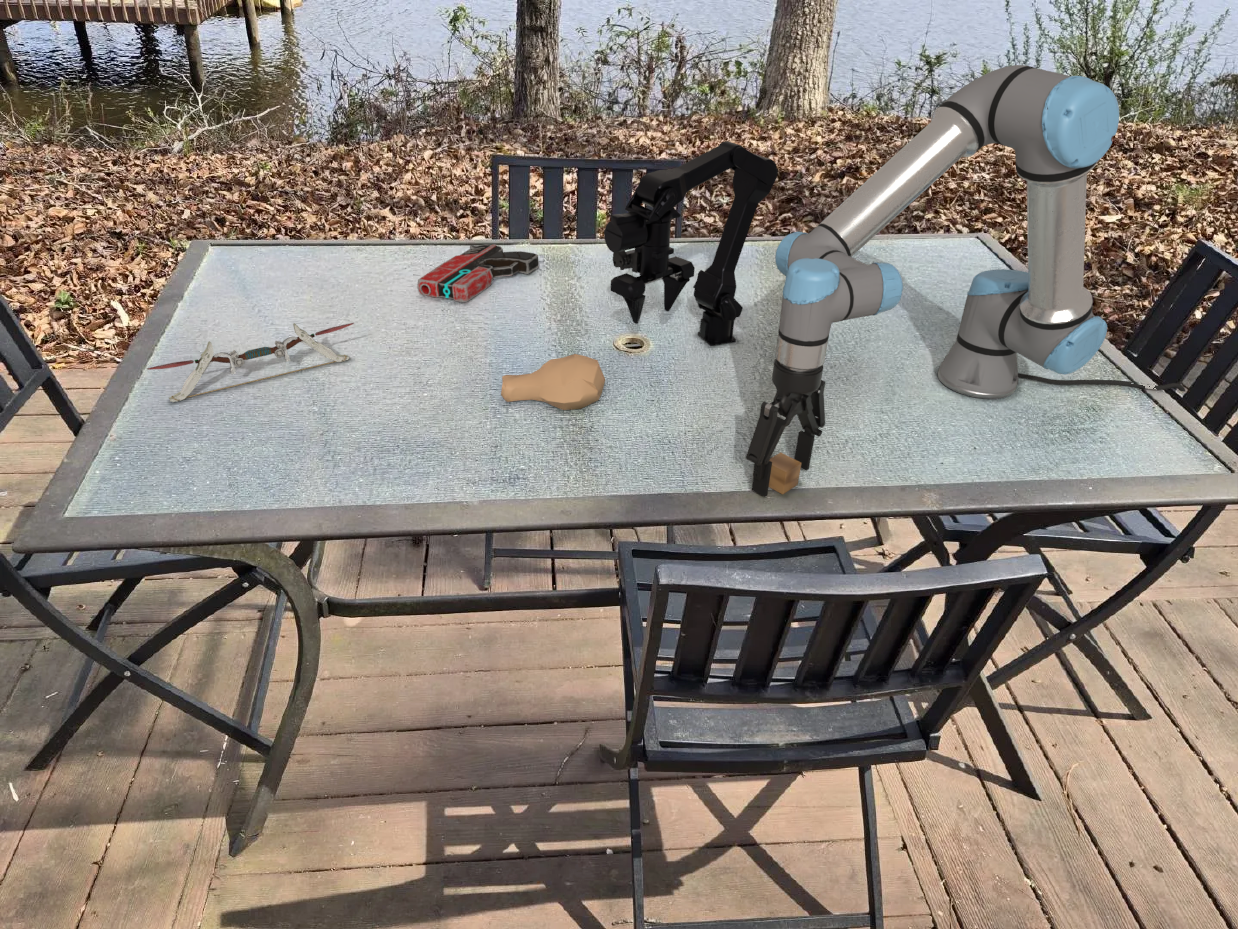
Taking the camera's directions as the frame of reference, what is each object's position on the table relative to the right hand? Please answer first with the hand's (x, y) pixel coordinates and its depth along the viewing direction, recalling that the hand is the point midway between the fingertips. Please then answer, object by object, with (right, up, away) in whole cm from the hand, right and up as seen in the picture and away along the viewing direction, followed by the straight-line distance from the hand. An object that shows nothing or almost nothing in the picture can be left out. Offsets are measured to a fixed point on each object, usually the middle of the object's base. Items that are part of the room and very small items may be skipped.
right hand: (780, 479), depth 146 cm
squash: (-40, +14, +22) cm, 47 cm away
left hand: (-20, +33, +32) cm, 50 cm away
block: (0, -1, +1) cm, 1 cm away
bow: (-97, +19, +26) cm, 102 cm away
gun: (-61, +48, +71) cm, 105 cm away
